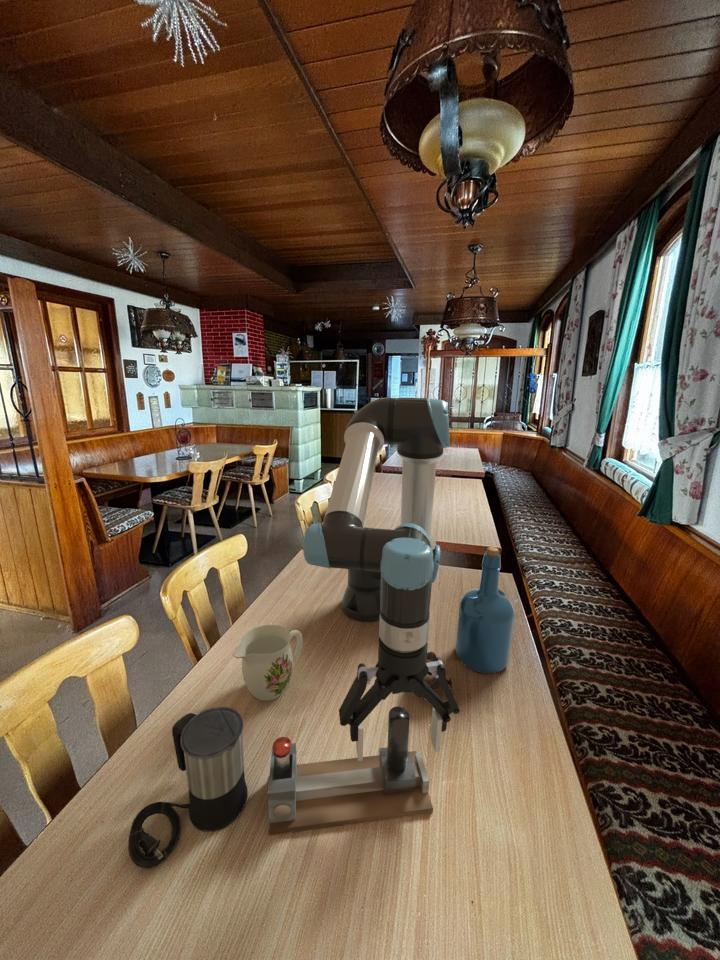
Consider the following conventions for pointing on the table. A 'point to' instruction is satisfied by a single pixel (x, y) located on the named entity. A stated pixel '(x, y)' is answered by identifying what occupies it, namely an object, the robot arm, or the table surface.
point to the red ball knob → (282, 755)
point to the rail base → (353, 802)
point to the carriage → (397, 754)
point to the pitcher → (268, 660)
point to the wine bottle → (486, 621)
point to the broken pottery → (435, 684)
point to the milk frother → (199, 781)
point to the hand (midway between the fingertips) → (397, 749)
